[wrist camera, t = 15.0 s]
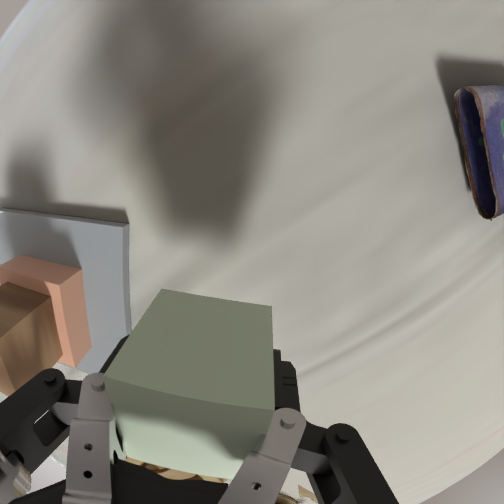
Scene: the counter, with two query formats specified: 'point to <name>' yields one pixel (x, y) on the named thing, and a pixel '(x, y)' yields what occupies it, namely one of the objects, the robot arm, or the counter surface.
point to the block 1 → (25, 336)
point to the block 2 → (195, 383)
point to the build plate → (83, 253)
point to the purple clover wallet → (483, 144)
